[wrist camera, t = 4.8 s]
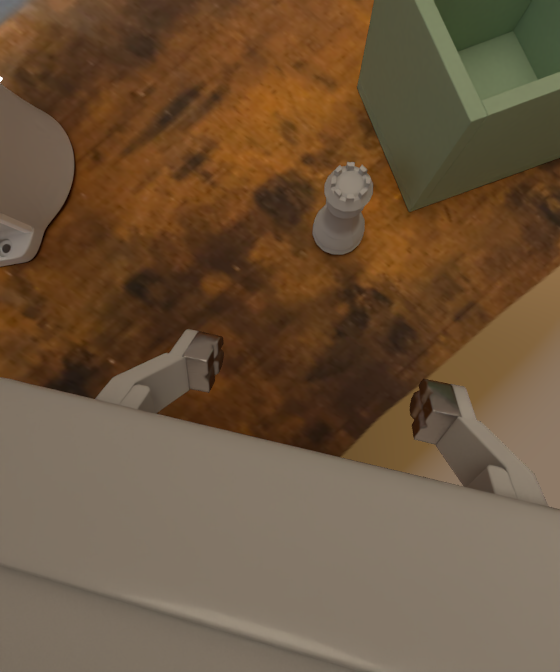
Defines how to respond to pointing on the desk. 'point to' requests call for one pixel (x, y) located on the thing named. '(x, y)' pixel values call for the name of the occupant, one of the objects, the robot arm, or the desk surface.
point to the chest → (462, 91)
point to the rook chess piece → (343, 209)
